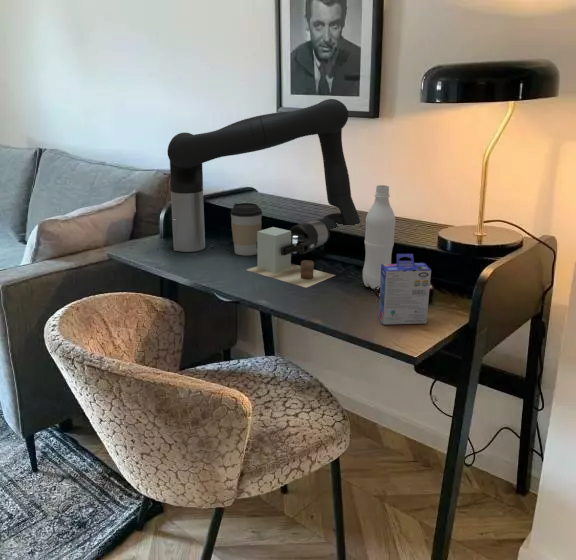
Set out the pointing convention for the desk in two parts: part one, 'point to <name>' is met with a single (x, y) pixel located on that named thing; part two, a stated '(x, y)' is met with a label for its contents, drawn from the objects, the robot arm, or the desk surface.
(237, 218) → the coffee cup
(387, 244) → the water bottle
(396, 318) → the ink cartridge box
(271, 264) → the pale upright block
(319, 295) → the desk surface
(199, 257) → the desk surface
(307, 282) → the oak board
